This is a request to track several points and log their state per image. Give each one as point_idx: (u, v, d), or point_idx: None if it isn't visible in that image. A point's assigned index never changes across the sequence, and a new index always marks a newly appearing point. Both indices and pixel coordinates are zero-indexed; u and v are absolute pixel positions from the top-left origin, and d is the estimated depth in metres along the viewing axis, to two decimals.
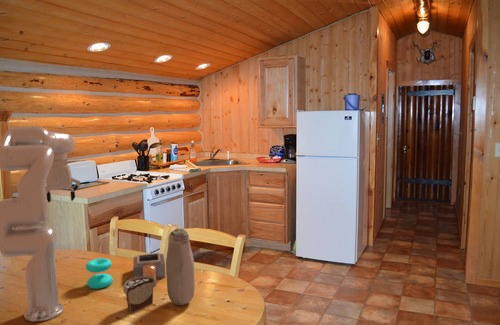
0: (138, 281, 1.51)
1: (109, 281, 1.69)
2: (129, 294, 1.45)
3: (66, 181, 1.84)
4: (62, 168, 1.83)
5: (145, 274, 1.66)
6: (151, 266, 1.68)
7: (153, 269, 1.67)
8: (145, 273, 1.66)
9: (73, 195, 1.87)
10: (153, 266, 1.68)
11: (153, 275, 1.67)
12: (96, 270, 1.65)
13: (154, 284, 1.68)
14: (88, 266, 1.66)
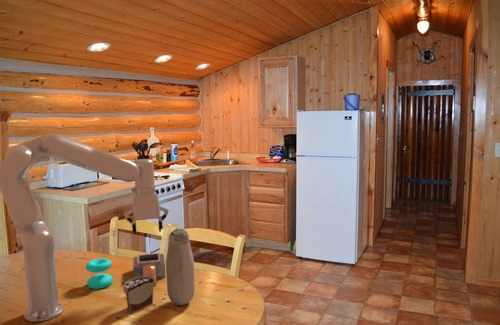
0: (138, 281, 1.51)
1: (109, 281, 1.69)
2: (129, 294, 1.45)
3: (155, 210, 1.63)
4: (151, 196, 1.62)
5: (145, 274, 1.66)
6: (151, 266, 1.68)
7: (153, 269, 1.67)
8: (145, 273, 1.66)
9: (161, 225, 1.67)
10: (153, 266, 1.68)
11: (153, 275, 1.67)
12: (96, 270, 1.65)
13: (154, 284, 1.68)
14: (88, 266, 1.66)
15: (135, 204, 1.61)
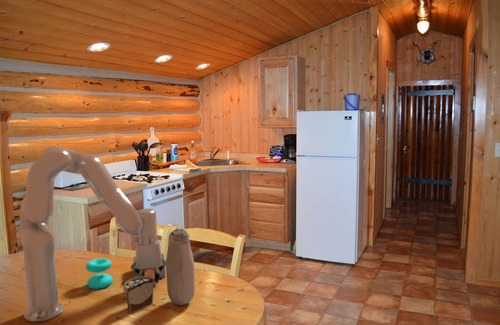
0: (138, 281, 1.51)
1: (109, 281, 1.69)
2: (129, 294, 1.45)
3: (157, 259, 1.66)
4: (153, 246, 1.65)
5: (145, 274, 1.66)
6: None
7: (153, 269, 1.67)
8: (145, 273, 1.66)
9: (158, 277, 1.69)
10: None
11: (153, 275, 1.67)
12: (96, 270, 1.65)
13: (154, 284, 1.68)
14: (88, 266, 1.66)
15: (138, 254, 1.64)
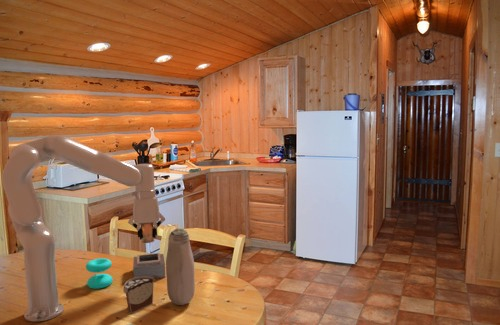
0: (138, 281, 1.51)
1: (109, 281, 1.69)
2: (129, 294, 1.45)
3: (155, 214, 1.66)
4: (151, 200, 1.65)
5: (143, 229, 1.66)
6: None
7: (151, 224, 1.67)
8: (143, 228, 1.66)
9: (156, 232, 1.69)
10: None
11: (151, 230, 1.67)
12: (96, 270, 1.65)
13: (152, 239, 1.68)
14: (88, 266, 1.66)
15: (135, 208, 1.64)
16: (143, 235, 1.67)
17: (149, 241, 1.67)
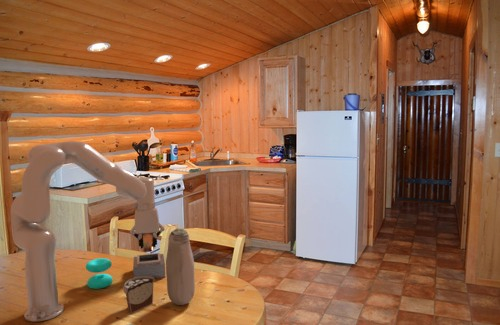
0: (138, 281, 1.51)
1: (109, 281, 1.69)
2: (129, 294, 1.45)
3: (155, 225, 1.77)
4: (151, 212, 1.76)
5: (143, 238, 1.77)
6: None
7: (151, 234, 1.78)
8: (143, 237, 1.77)
9: (156, 241, 1.80)
10: None
11: (151, 240, 1.78)
12: (96, 270, 1.65)
13: (152, 248, 1.79)
14: (88, 266, 1.66)
15: (136, 219, 1.75)
16: (144, 244, 1.78)
17: (149, 250, 1.78)
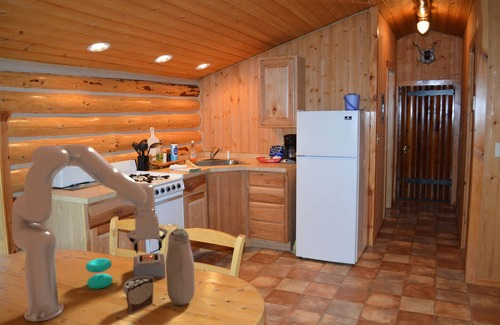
0: (138, 281, 1.51)
1: (109, 281, 1.69)
2: (129, 294, 1.45)
3: (155, 231, 1.77)
4: (151, 218, 1.76)
5: None
6: (150, 255, 1.81)
7: (152, 258, 1.79)
8: None
9: (161, 245, 1.81)
10: (152, 255, 1.81)
11: None
12: (96, 270, 1.65)
13: None
14: (88, 266, 1.66)
15: (137, 225, 1.75)
16: None
17: None
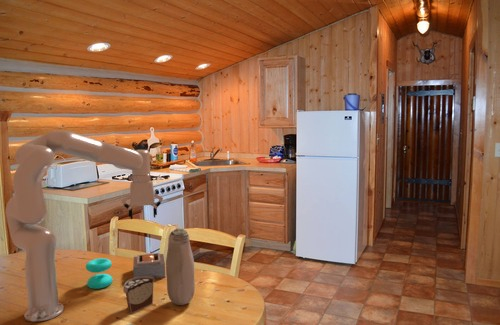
0: (138, 281, 1.51)
1: (109, 281, 1.69)
2: (129, 294, 1.45)
3: (150, 197, 1.76)
4: (146, 184, 1.75)
5: None
6: (150, 255, 1.81)
7: (152, 258, 1.79)
8: None
9: (155, 212, 1.79)
10: (152, 255, 1.81)
11: None
12: (96, 270, 1.65)
13: None
14: (88, 266, 1.66)
15: (131, 191, 1.74)
16: None
17: None
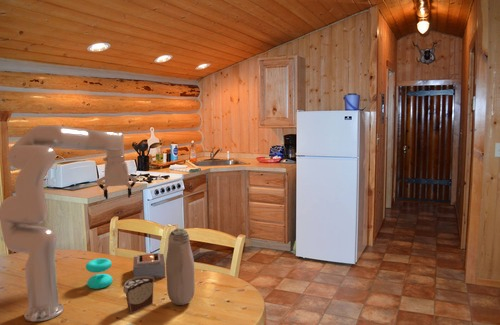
0: (138, 281, 1.51)
1: (109, 281, 1.69)
2: (129, 294, 1.45)
3: (124, 178, 1.83)
4: (120, 165, 1.82)
5: None
6: (150, 255, 1.81)
7: (152, 258, 1.79)
8: None
9: (130, 192, 1.86)
10: (152, 255, 1.81)
11: None
12: (96, 270, 1.65)
13: None
14: (88, 266, 1.66)
15: (106, 172, 1.81)
16: None
17: None
